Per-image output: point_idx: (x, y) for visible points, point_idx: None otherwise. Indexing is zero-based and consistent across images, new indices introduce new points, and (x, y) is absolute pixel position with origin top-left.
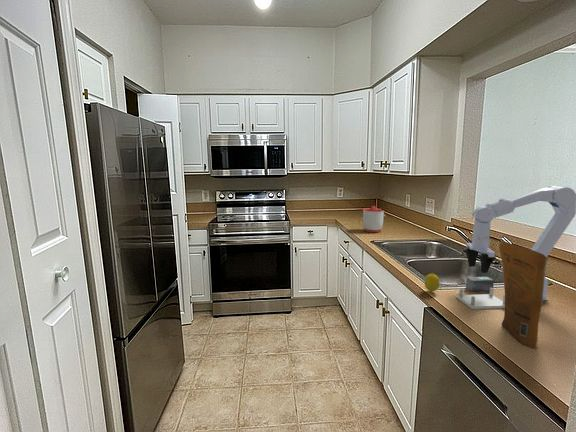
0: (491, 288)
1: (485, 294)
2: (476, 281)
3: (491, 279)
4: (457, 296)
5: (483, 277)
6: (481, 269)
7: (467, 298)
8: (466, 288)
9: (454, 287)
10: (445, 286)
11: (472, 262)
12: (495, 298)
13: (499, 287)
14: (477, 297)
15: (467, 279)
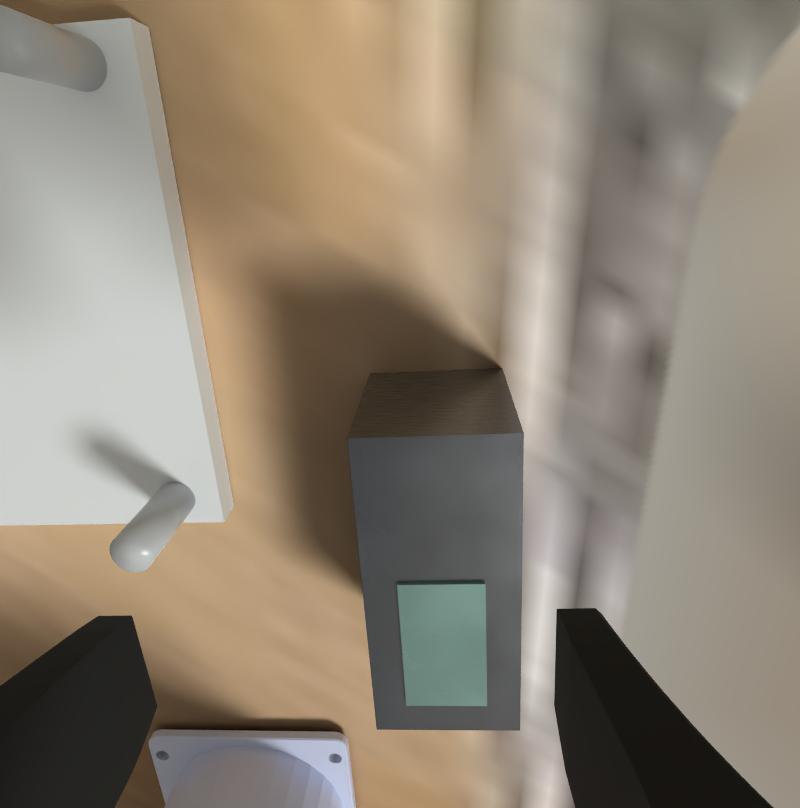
0: (127, 547)
1: (206, 457)
2: (357, 492)
3: (399, 714)
4: (106, 21)
5: (477, 663)
6: (61, 657)
7: (28, 135)
8: (484, 370)
9: (540, 218)
10: (597, 83)
11: (583, 749)
12: (101, 498)
13: (494, 730)
14: (93, 303)
15: (490, 420)
